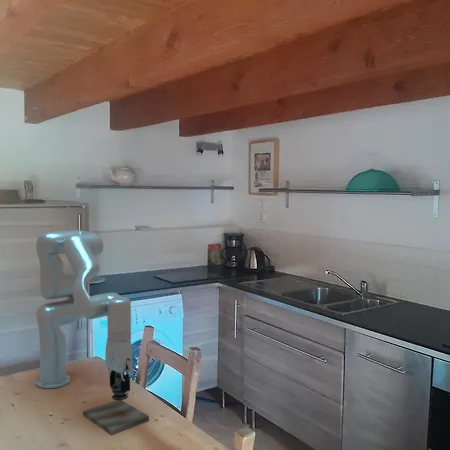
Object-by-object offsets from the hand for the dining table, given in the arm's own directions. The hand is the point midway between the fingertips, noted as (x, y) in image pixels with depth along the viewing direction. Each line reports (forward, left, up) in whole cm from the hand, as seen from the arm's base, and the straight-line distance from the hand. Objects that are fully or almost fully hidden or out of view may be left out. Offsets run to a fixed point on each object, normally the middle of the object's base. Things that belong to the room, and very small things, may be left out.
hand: (119, 388), depth 164 cm
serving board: (-1, -1, -10) cm, 10 cm away
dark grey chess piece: (0, 0, -3) cm, 3 cm away
